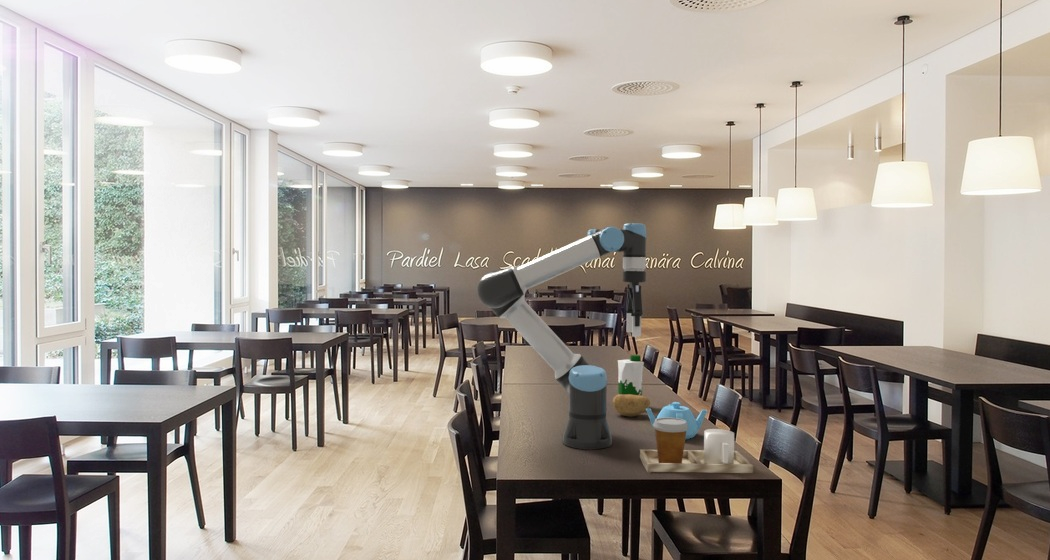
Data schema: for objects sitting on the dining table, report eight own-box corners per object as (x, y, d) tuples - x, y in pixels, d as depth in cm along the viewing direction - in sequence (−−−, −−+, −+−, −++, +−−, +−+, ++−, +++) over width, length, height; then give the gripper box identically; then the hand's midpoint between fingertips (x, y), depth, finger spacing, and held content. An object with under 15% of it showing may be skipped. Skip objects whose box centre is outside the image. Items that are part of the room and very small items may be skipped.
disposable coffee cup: (682, 458, 191) (682, 416, 190) (692, 468, 181) (692, 424, 181) (649, 458, 190) (649, 417, 190) (657, 469, 181) (657, 425, 180)
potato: (652, 419, 242) (652, 397, 242) (614, 418, 242) (614, 396, 242) (646, 413, 252) (647, 391, 252) (609, 412, 252) (610, 391, 252)
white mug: (710, 472, 179) (711, 438, 178) (700, 460, 189) (701, 428, 189) (740, 472, 178) (741, 439, 178) (729, 460, 189) (729, 429, 189)
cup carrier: (647, 473, 179) (647, 464, 179) (639, 458, 193) (639, 449, 193) (753, 474, 178) (753, 465, 178) (737, 459, 192) (737, 450, 192)
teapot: (642, 434, 221) (642, 401, 220) (669, 427, 231) (670, 396, 230) (680, 443, 209) (681, 409, 209) (708, 436, 219) (708, 403, 219)
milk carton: (645, 407, 261) (646, 356, 261) (624, 409, 259) (625, 357, 258) (635, 403, 270) (635, 353, 269) (614, 404, 267) (615, 354, 266)
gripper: (652, 270, 208) (651, 338, 209) (639, 270, 233) (639, 330, 234) (628, 270, 209) (627, 338, 209) (618, 269, 234) (617, 330, 234)
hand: (633, 334), depth 221 cm, fingers open, 13 cm apart
